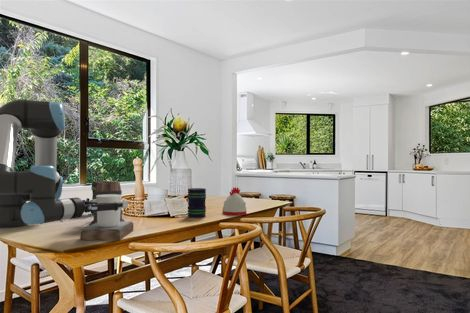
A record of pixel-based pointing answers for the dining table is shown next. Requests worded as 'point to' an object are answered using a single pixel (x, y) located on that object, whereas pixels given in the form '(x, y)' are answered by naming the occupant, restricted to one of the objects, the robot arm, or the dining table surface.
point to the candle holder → (110, 216)
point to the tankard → (107, 188)
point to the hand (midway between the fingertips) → (115, 202)
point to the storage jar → (196, 202)
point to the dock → (106, 232)
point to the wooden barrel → (95, 188)
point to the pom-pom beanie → (234, 203)
